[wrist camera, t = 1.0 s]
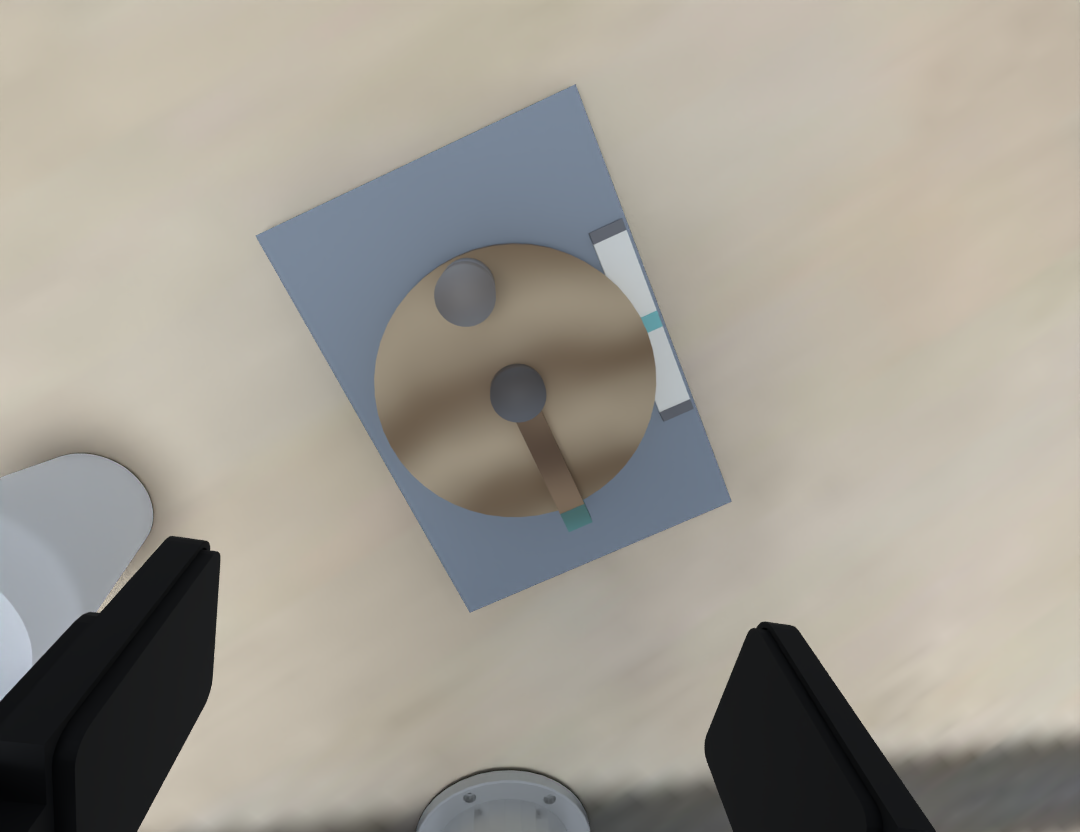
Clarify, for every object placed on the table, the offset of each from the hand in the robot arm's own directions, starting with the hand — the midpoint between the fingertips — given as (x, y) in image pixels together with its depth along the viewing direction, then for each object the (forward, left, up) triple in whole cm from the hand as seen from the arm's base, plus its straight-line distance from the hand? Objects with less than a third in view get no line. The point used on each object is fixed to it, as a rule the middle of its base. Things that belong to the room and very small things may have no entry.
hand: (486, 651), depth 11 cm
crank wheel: (-2, -1, -24) cm, 24 cm away
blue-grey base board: (-2, -1, -25) cm, 25 cm away
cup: (+1, +24, -26) cm, 35 cm away
